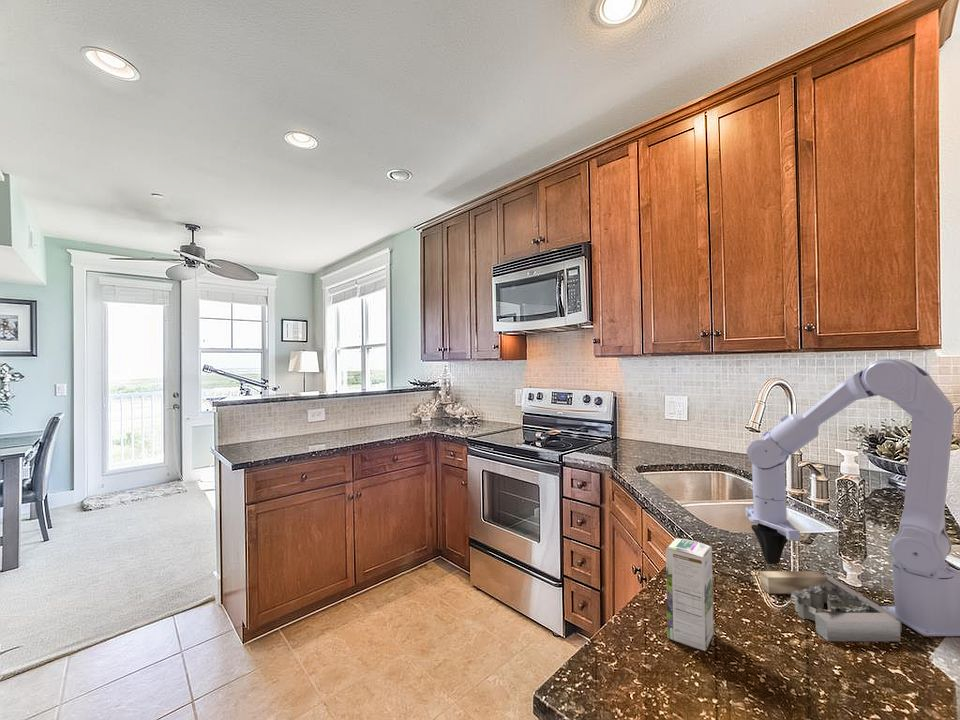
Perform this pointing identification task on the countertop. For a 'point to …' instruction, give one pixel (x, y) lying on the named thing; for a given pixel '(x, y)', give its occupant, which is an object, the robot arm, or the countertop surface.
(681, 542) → the syrup box
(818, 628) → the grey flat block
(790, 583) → the block
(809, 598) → the egg carton
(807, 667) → the countertop surface
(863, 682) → the countertop surface
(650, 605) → the countertop surface
